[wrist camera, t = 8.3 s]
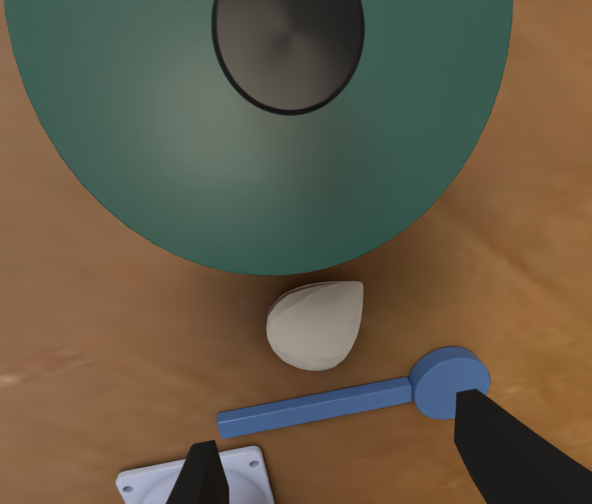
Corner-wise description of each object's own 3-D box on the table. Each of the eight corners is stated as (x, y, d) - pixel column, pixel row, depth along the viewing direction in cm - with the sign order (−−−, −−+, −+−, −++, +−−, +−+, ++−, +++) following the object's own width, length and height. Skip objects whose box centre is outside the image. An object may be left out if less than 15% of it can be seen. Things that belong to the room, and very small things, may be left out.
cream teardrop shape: (248, 314, 17) (247, 347, 15) (322, 241, 16) (334, 264, 14) (310, 360, 19) (319, 397, 17) (383, 296, 18) (402, 325, 16)
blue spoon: (477, 398, 21) (488, 411, 20) (228, 447, 21) (227, 464, 20) (482, 339, 20) (493, 351, 19) (211, 391, 19) (209, 406, 18)
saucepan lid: (472, 227, 11) (579, 288, 7) (124, 288, 11) (59, 385, 7) (501, -288, 7) (769, -701, 3) (-69, -230, 6) (-471, -645, 3)
